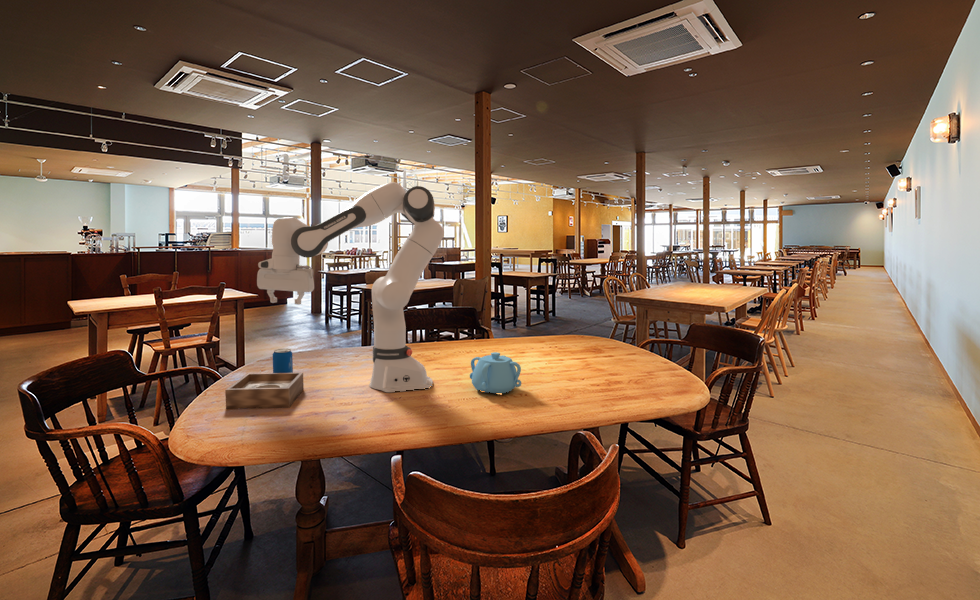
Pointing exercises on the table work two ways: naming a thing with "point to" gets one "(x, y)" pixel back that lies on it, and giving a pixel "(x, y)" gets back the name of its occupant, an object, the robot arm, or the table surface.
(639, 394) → the table surface
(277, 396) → the caddy
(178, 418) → the table surface
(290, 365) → the beverage can
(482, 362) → the decorative pot
